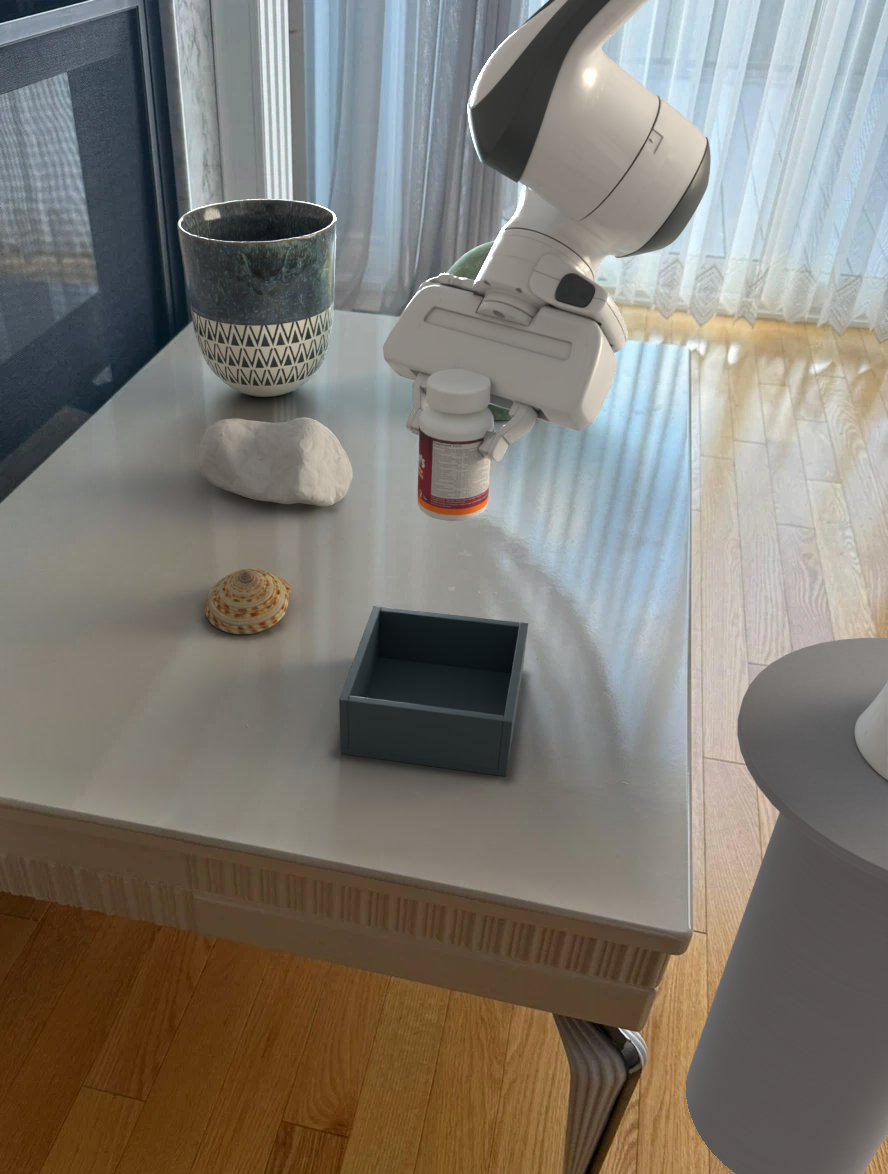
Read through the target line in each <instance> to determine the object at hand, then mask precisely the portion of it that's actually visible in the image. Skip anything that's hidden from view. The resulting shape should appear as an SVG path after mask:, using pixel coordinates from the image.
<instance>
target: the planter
mask: <svg viewBox="0 0 888 1174" xmlns="http://www.w3.org/2000/svg"><path fill="white" fill-rule="evenodd" d="M176 225H177V233H178V234H177V235H178V241H179V248H180V253H181V258H182V266H183V270H184V277H185V284H186V290H187V295H188V302H189V308H190V313H191V320H192V324H193V330H194V334H195V338H196V341H197V344H198V347H199V350H200V352H201V355H202V357H203V359H204V361H205V362H206V364H207V366H208V367H209V369H210V370H211V371H212V373H214V375H215V376H216V377H217V378H219V380H220V381H222V382H223V383H224V384H225V385H227V386H229V387H230V388H231V389H233V390H235V391H237V392H238V393H242V394H243V395H247V396H251V397H258V398H259V397H260V398H271V397H272V398H273V397H278V396H282V395H286V394H289V393H292V392H294V391H296V390H297V389H299V388H301V387H302V386H304V385H305V384H306V383H308V381H310V380H311V379H312V378H313V376H315V374H316V373H317V371H318V370H319V369H320V368H321V366H322V365H323V363H324V361H325V359H326V358H327V354H328V352H329V351H328V350H329V347H330V344H331V339H332V335H333V328H334V313H335V312H334V309H335V290H336V289H335V287H336V285H335V284H336V253H337V252H336V251H337V217H336V214H335V213H334V212H333V211H331V210H330V209H329V208H326V207H324V206H321V205H319V204H314V203H311V202H305V201H300V200H291V199H278V198H277V199H275V198H257V199H256V198H255V199H253V198H252V199H241V200H239V199H238V200H231V201H224V202H218V203H213V204H209V205H208V204H207V205H205V206H201V207H198V208H195V209H193V210H191V211H188V212H187V213H185V214H183V215H182V216H180V218H179V219H178V221H177V223H176Z"/></svg>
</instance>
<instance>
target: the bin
mask: <svg viewBox="0 0 888 1174" xmlns="http://www.w3.org/2000/svg"><path fill="white" fill-rule="evenodd" d="M528 628H529V623H528V622H519V621H511V620H502V619H493V618H485V617H475V616H469V615H468V616H466V615H457V614H449V613H440V612H431V611H423V610H415V609H414V610H413V609H406V608H397V607H396V608H395V607H387V606H378V605H373V607H372V609H371V612H370V615H369V617H368V619H367V623H366V625H365V628H364V631H363V634H362V636H361V638H360V641H359V644H358V647H357V650H356V653H355V656H354V658H353V661H352V663H351V667H350V670H349V671H348V674H347V676H346V679H345V682H344V685H343V689H342V691H341V694H340V697H339V699H338V707H339V709H338V711H339V742H340V743H339V747H340V748H339V750H340V751H339V752H340V754H341V755H348V756H356V757H363V758H370V759H377V760H383V761H391V762H398V763H399V762H400V763H407V764H412V765H413V764H414V765H421V766H427V767H434V768H435V767H436V768H442V769H449V770H456V771H464V772H471V773H478V774H486V775H493V776H500V777H507V775H508V769H509V762H510V755H511V750H512V749H511V748H512V744H513V743H512V742H513V737H514V729H515V725H516V718H517V717H516V716H517V710H518V705H519V699H520V692H521V686H522V681H523V680H522V678H523V673H524V672H523V671H524V663H525V655H526V646H527V638H528Z"/></svg>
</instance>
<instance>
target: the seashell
mask: <svg viewBox="0 0 888 1174" xmlns="http://www.w3.org/2000/svg"><path fill="white" fill-rule="evenodd" d="M291 591H292V584H291V583H290V581H288V580H287V579H285V578H284V577H281V576H279V575H276V574H272V573H271V572H269V571H266V570H264V569H261V568H242V569H238V570H235V571H233V572H232V573H230V574H227V575H226V576H224V577H222V578H221V579H219V580H218V581H217V582H215V584H214V585H213V586H212V587H211V589H210V590H209V592H208V594H207V598H206V600H205V605H204V607H205V609H204V611H205V615H206V616H205V617H206V618H207V619H208V621H209V622H210V624H211V625H212V626H214V627H215V628H216V629H218V630H220V631H223V632H225V633H229V634H234V635H251V634H256V633H259V632H262V631H265V630H267V629H269V628H271V627H273V626H275V625H276V624H277V623H278V622H279V621H281V620H282V619H283V617H284V616H285V615H286V613H287V609H288V606H289V601H290V600H289V599H290V598H289V597H290V595H289V594H290V593H291Z"/></svg>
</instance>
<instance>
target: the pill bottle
mask: <svg viewBox="0 0 888 1174" xmlns="http://www.w3.org/2000/svg"><path fill="white" fill-rule="evenodd" d="M490 389H491V381H490V379H489V377H487V376H484V375H481V374H478V373H475V372H471V371H468V370H465V369H448V370H442V371H438V372H436V373H434V374H432V375H431V376H430V377H429V378H428V380H427V394H426V401H427V404H428V406H427V407H426V408H425V409H424V410H423V411H422V413H421V416H420V423H419V435H418V461H417V463H418V465H417V505H418V507H419V509H420V511H421V512H423V513H424V514H426V516H428V517H431V518H432V519H437V520H440V521H447V522H463V521H464V522H465V521H469V520H472V519H475V518H476V517H479V516H480V515H481V514H483V512H484V511H486V509H487V507H488V504H489V492H490V481H491V480H490V479H491V466H492V460H489V459H487V458H484V457H482V455H481V454H480V453H479V452H478V448H479V445H480V443H481V442H483V437H484V435H485V433H486V431H489V432H492V433H494V428H495V420H494V417H493V414H492V412H491V411H490V409H489V408H488V407H487V406H488V405H489V403H490Z"/></svg>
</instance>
